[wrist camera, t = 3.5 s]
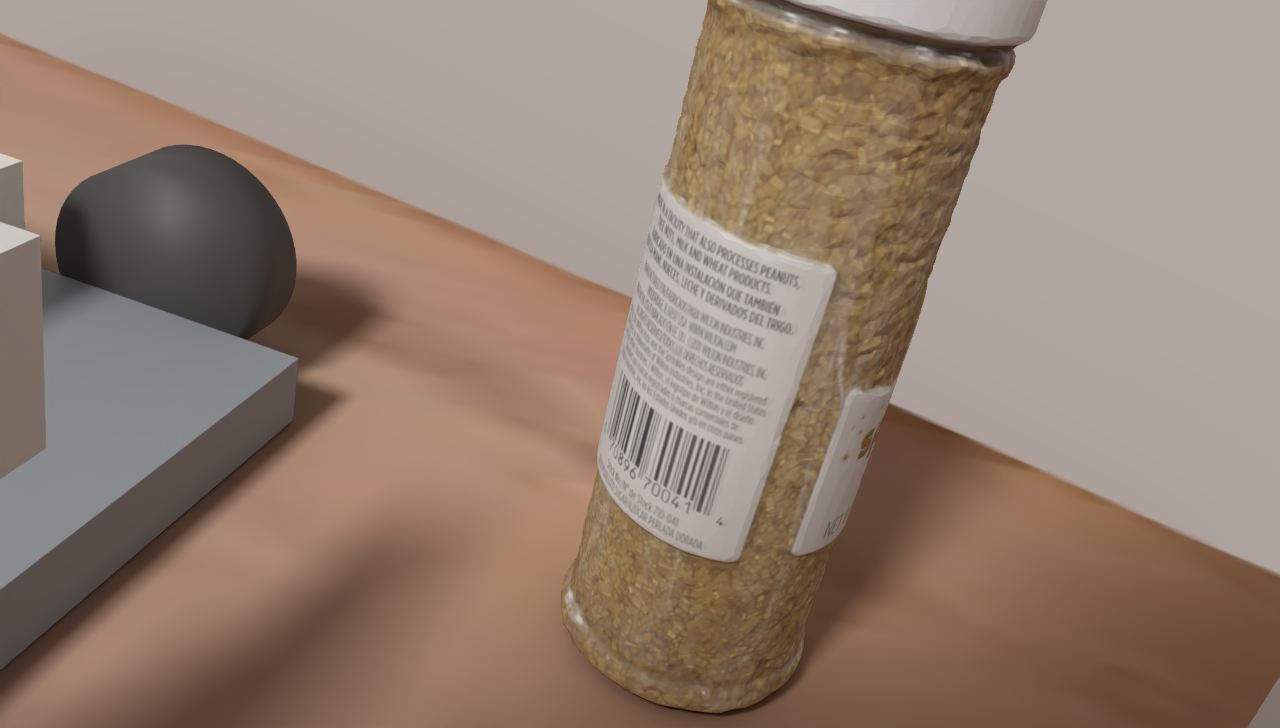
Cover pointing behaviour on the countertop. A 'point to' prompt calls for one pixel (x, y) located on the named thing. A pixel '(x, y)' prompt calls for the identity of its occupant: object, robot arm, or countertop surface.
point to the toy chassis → (142, 369)
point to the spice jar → (773, 327)
